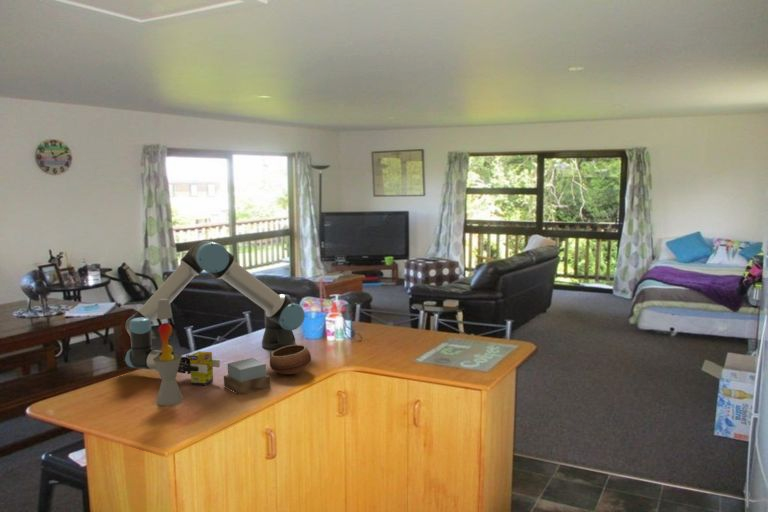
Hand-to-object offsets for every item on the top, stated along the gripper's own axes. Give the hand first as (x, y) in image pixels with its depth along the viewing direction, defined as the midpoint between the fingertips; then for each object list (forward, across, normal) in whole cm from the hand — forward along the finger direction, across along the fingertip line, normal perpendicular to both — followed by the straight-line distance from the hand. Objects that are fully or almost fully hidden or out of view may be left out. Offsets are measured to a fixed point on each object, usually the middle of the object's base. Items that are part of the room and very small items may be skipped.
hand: (212, 366), depth 215 cm
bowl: (+21, -20, -7) cm, 30 cm away
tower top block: (+14, -2, -3) cm, 14 cm away
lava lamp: (-4, +19, -7) cm, 20 cm away
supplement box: (-5, 0, -7) cm, 8 cm away
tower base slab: (+14, -1, -7) cm, 15 cm away
